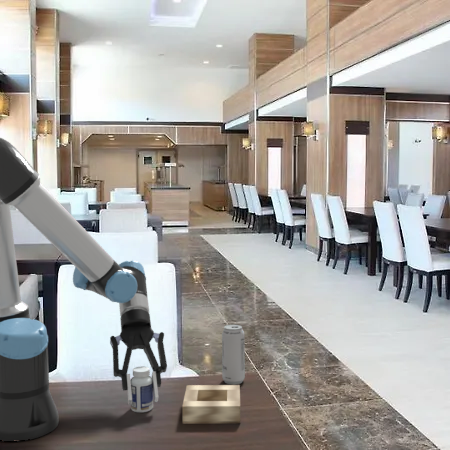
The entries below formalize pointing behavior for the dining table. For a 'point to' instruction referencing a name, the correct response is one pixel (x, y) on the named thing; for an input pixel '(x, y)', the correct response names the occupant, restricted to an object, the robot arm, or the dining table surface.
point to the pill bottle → (141, 390)
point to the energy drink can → (233, 354)
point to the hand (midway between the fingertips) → (143, 400)
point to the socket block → (211, 404)
